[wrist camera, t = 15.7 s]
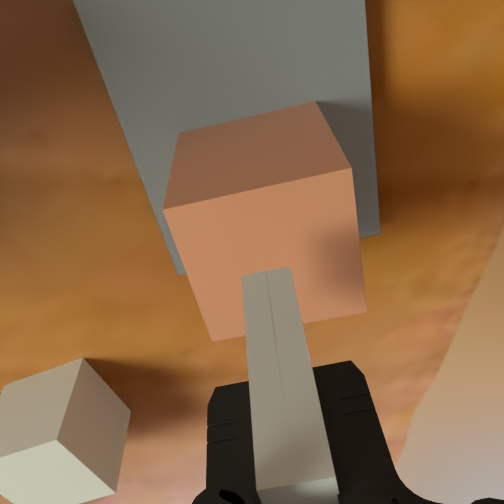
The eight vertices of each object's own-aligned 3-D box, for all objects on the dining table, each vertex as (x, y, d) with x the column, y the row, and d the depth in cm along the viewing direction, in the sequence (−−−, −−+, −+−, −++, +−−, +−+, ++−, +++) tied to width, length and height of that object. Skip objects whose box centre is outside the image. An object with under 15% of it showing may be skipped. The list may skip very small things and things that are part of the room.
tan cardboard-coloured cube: (178, 133, 21) (162, 209, 15) (315, 100, 21) (351, 167, 15) (214, 245, 25) (212, 341, 19) (332, 219, 24) (367, 311, 18)
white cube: (83, 355, 30) (56, 439, 25) (131, 409, 33) (116, 493, 28) (4, 383, 31) (-36, 469, 26) (59, 433, 34) (32, 517, 30)
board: (-39, -318, 14) (-221, -491, 8) (327, -433, 13) (408, -713, 7) (179, 264, 26) (167, 358, 21) (375, 223, 26) (420, 309, 20)
